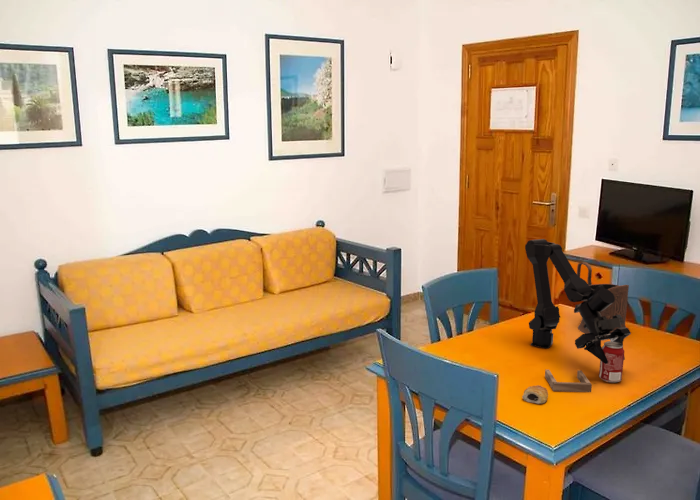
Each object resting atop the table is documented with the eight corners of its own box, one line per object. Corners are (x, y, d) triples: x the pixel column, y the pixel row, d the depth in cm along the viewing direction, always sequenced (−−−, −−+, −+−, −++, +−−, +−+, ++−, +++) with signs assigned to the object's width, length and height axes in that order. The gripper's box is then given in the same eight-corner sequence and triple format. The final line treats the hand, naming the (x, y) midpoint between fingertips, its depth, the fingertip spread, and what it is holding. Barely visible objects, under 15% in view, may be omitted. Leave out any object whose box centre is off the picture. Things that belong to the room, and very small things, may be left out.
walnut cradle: (544, 376, 199) (545, 369, 198) (580, 377, 198) (581, 370, 197) (553, 391, 188) (553, 383, 188) (591, 392, 187) (591, 384, 187)
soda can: (623, 384, 193) (627, 349, 190) (600, 383, 194) (604, 347, 191) (618, 376, 199) (622, 341, 196) (597, 374, 200) (600, 339, 198)
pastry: (530, 389, 190) (531, 378, 189) (552, 395, 186) (553, 383, 186) (520, 401, 182) (521, 389, 181) (543, 407, 179) (544, 395, 178)
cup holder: (603, 341, 230) (609, 277, 224) (557, 322, 251) (561, 263, 246) (638, 334, 237) (645, 271, 232) (590, 316, 259) (595, 258, 253)
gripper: (584, 310, 192) (607, 355, 184) (629, 303, 198) (653, 346, 191) (564, 326, 200) (586, 370, 193) (608, 319, 207) (631, 361, 200)
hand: (615, 361), depth 194 cm, fingers closed on soda can, 6 cm apart
